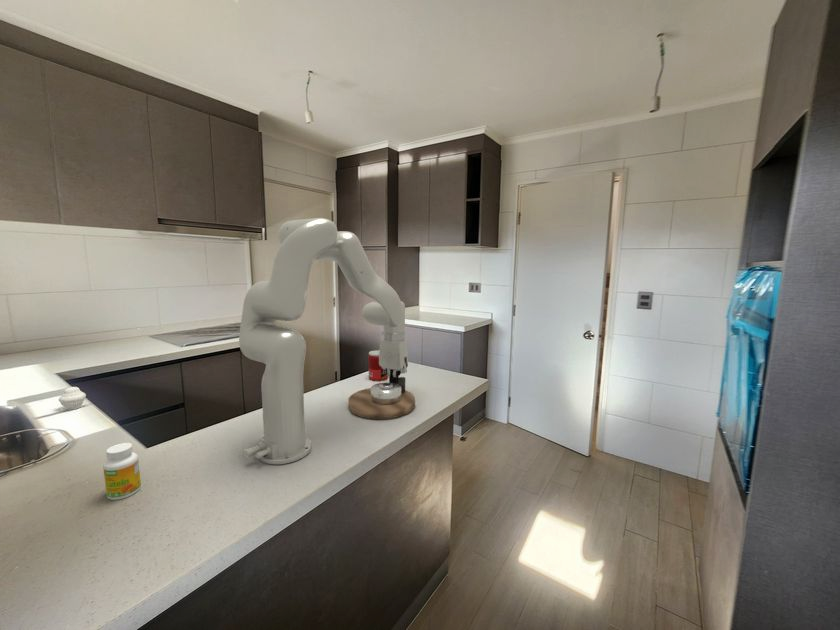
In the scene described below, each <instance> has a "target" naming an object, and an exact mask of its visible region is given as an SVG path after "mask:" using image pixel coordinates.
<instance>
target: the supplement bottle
mask: <svg viewBox="0 0 840 630" xmlns="http://www.w3.org/2000/svg"><path fill="white" fill-rule="evenodd" d="M133 450H134V449H133V444H132V443H131V442H124V443H118V444H115V445H112V446H110V447H108V448H107V449H106V453H105V454H106V458H107V459H106V460H105V461H104V463H103V466H102V467H103V475H104V483H105V484H104V485H105V491H106V492H105V493H106V498H107V499H108V500H112V501H115V500H116V501H117V500H122V499H125V498H128V497H130V496H133V495H134V494H136V493H137V492H138V491H139V490H140V489H141V487H142V482H141V481H142V480H141V472H140V471H141V470H140V464H139V463H140V462H139V456H138V454H137V453H135V452H134V451H133Z"/></svg>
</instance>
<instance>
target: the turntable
mask: <svg viewBox="0 0 840 630" xmlns="http://www.w3.org/2000/svg"><path fill="white" fill-rule="evenodd" d="M398 385H400V386H401V401H400V402H398V403H396V404H393V405H378V404H375V403H373V402H372V401H371V387H369V388H364V389H362V390H358V391H356V392H354V393H353V394H351V395H350V396H349V397H348V399H347V404H348V405H347V406H348V410H349V411H350V412H351V413H353V414H354V415H356V416H358V417H362V418H366V419H375V420H376V419H377V420H380V419H381V420H384V419H393V418H398V417H401V416H404V415H406V414H409V413H410V412H411V411H413V409H414V408H415V406H416V397H415V395H414V394H413V393H412V392H410V391H408V390H406V377H405V376H399V384H398Z"/></svg>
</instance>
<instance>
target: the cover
mask: <svg viewBox="0 0 840 630" xmlns="http://www.w3.org/2000/svg"><path fill="white" fill-rule="evenodd" d="M370 388H371V401H372V402H373V403H375V404H378V405H393V404H396V403H398V402H400V401H401V386H400V385H399V384H395V383H389V382H379V383H374V384H373V385H371V387H370Z"/></svg>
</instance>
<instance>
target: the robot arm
mask: <svg viewBox="0 0 840 630" xmlns="http://www.w3.org/2000/svg"><path fill="white" fill-rule="evenodd" d="M277 235H278V241H279V244H280V246H279V247H278V249H277V251H276V254H275V256H274V260H273V265H272V268H271V269H272V270H271V274H270V275H271V276H270V280H260V281H257V282H256V283H254V284H253V285H252V286H250V288H249V289H248V290H247V291H246V294H245V296H244V299H243V306H242V313H241V320H240V325H239V327H240V329H239V335H238V342H239V343H238V344H239V345H238V346H239V349H240V351H241V353H242V354H243V356H245V357H246V358H248V359H249V360H251V361H255V362H260V363H262V364H265V370H264V372H263V374H262V378H261V384H260V385H261V387H260V388H261V389H260V391H261V403H262V421H263V423H262V425H263V437H261V438H259V443H257V444H256V446H253V447H250V448H247V449H245V450H244V451H243V455H244V457H245V459H249V458H252V457H255V459H258V460H260V461H261V462H263V463H265V464H268V465H284V464H289V463H293V462H296V461H299V460H301V459H303V458H304V457H306V456H307V455H308V454H309V453H310V452H311V450H312V448H313V447H312V444H313V443H312V440H311V439H310V438H309V437H307V436H306V431H305V430H306V427H305V426H306V425H305V400H304V399H305V397H304V394H305V393H304V392H305V391H304V366H305V358H306V354H307V343H306V340H305V338H304V336H303V335H302V334H301V332H299V331H298V330H296V329H294V328H291V327H287V326H282V325H277V324H278V321H283V322H293V321H297V320H299V319H300V318H301V317H302V316H303V314H304V313H305V308H306V304H307V303H306V302H307V295H308V288H309V280H310V274H311V270H312V266H313V264H314V262H315V261H316V260H317V261H322V262H336V263H337V265H338V267H339V268H340V270H341V272H342V274H343V275H344V278H345V279H346V281H347V283H348V285H349V287H351V288H352V289H353V290H355V291H356V292H358V293H360V294H362V295H365V296H367V297H369V298H370V299H373V300H374V301H371V302H369V303H366V304H365V305H364V306H363V309H362V310H361V317H362V319H363V320H364V321H365V322H366V323H367V324H370V325H374V326H375V325H376V326H382V328H383V329H382V331H381V335H382V338H381V341H380V345H379V350H380V351H379V365H380V366H381V367H382V368H383V369H384V370H386V371H387V373H388V378H389V380H388V381H389V382H388V383H395V384H398V385H399V377H401V375H402V374H406V373H408V369H407V368H408V366H409V352H408V343H407V340H406V339H405V337H406V336H405V335H406V305H405V302H404V301H402V300H401V299H400V296H399V294H398V293H397V292H396V290H395V289H394V288H393V287H392V286H391V285H390V284H389V283H388V282H386V280H384V279H383V278H382V277H380V276H379V275H378V274H377V272H375V270H374V269H373V266H372V264H371V261H370V260H369V258H368V255H367V254H366V252H365V249H364V246H363V245H362V243H361V240H360V239H359V238H358V236H357V235H356V234H355V233H353V232H352V231H345V230H342V231H338V227H337V225H336V224H335V223H334V222H333V221H332V220H330V219H328V218H324V217H313V218H304V219H293V220H289V221H286V222H284V223H283V224H282V225H281V226H280V228H279V230H278V232H277Z"/></svg>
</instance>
